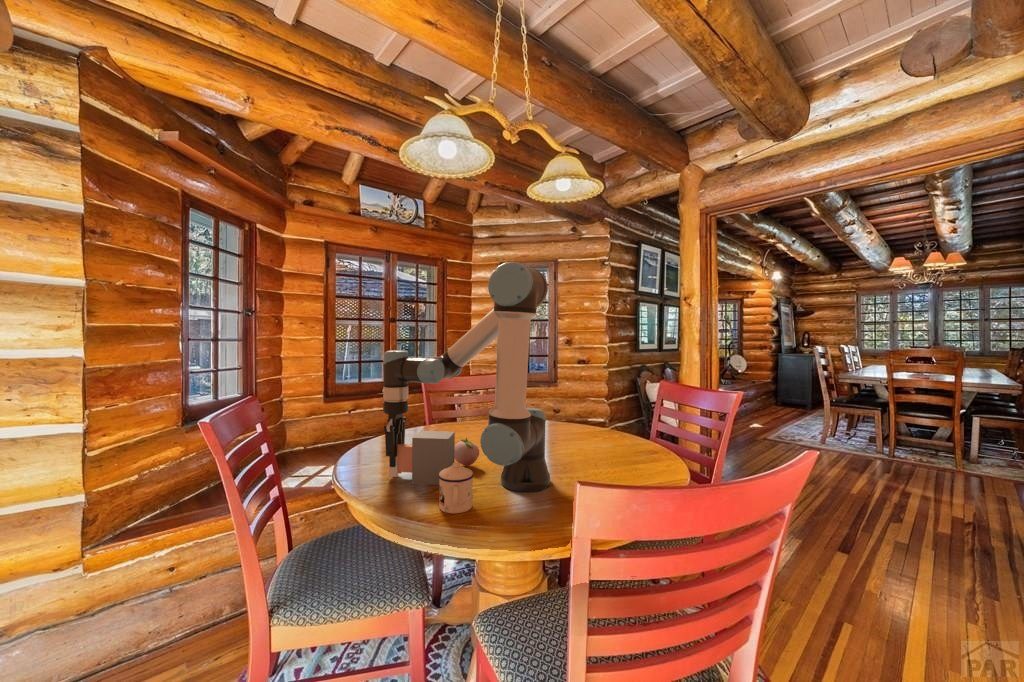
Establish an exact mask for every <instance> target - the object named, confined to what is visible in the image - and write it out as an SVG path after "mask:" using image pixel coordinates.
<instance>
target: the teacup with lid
mask: <svg viewBox="0 0 1024 682" xmlns="http://www.w3.org/2000/svg"><path fill="white" fill-rule="evenodd" d="M473 477H474V472H473V471H472V470H471V469H470V468H468V467H465V466H464V465H461V464H460V463H459V462H457V461H454V463H453V464H452V466H451V467H449V468H446V469H444V470H442V471H441V472H440V473H439V485H438V486H439V492H438V493H439V496H438V497H439V500H438V501H439V502H438V505H439V506H438V507H439V510H441V512H443V513H446V514H463V513H465V512H469V510H471V508H472V507H473Z"/></svg>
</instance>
